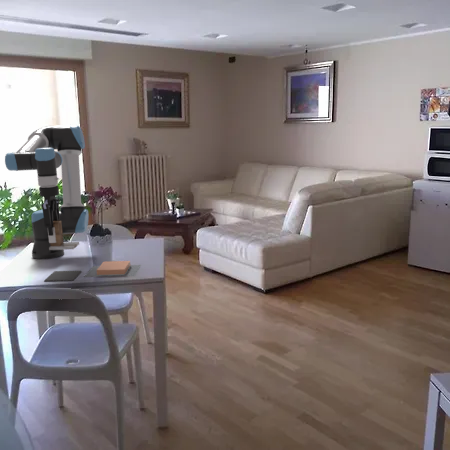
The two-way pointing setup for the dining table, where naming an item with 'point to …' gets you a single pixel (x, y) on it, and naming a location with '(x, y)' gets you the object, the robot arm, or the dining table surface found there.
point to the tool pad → (62, 276)
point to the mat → (130, 272)
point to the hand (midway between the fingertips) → (54, 241)
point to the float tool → (61, 239)
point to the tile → (113, 268)
